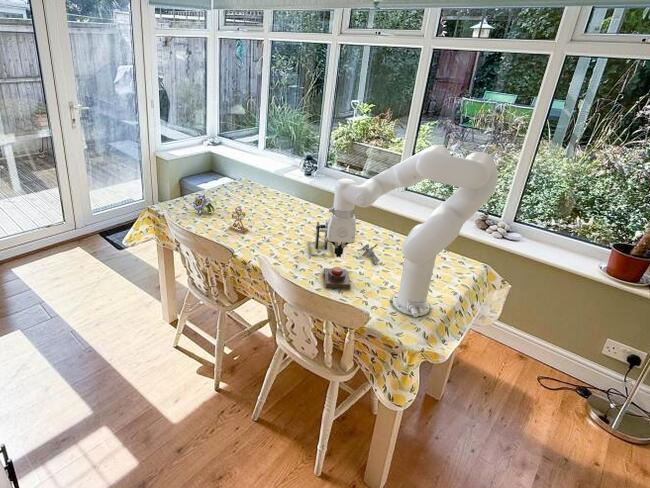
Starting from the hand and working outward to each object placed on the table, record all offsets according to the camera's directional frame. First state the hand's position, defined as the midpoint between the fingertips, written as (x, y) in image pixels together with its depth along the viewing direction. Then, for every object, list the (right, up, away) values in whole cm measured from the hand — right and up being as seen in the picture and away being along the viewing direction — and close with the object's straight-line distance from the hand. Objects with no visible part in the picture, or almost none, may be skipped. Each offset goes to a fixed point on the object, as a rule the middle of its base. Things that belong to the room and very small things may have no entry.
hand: (338, 255), depth 158 cm
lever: (-2, +8, +18) cm, 20 cm away
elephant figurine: (+18, -4, +20) cm, 27 cm away
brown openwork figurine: (-40, +7, +45) cm, 60 cm away
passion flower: (-59, +15, +65) cm, 89 cm away
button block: (0, -11, +4) cm, 11 cm away
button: (0, -7, +3) cm, 8 cm away
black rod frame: (-2, -1, +27) cm, 27 cm away
